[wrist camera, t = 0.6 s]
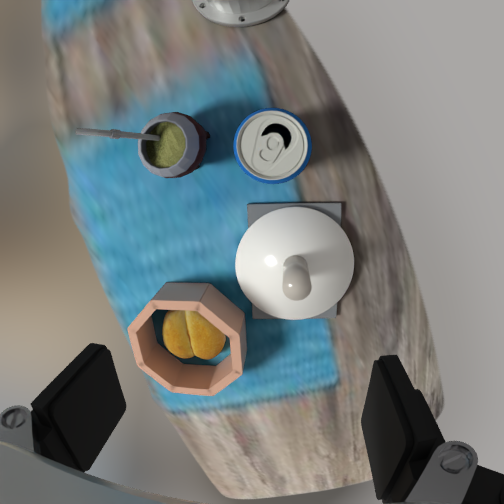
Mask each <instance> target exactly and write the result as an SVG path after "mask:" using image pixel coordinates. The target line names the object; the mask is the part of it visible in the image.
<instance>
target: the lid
mask: <svg viewBox="0 0 504 504" xmlns="http://www.w3.org/2000/svg"><path fill="white" fill-rule="evenodd" d="M235 268H236V275H237V279H238V282H239V284H240V287H241V289H242V291H243V292H244V294H245V295H246V297H247V298H248V299H249V300H250V301H251V302H252V303H253V304H254V305H255V306H256V307H257V308H259V309H260V310H262V311H263V312H265V313H267V314H269V315H272V316H274V317H278V318H282V319H290V320H298V319H306V318H310V317H314V316H317V315H319V314H321V313H323V312H325V311H327V310H328V309H330V308H331V307H332V306H334V305H335V304H336V303H337V302H338V301H339V300H340V299H341V298H342V296H343V295H344V294H345V292H346V290H347V289H348V287H349V284H350V282H351V279H352V276H353V271H354V255H353V250H352V246H351V243H350V241H349V239H348V237H347V235H346V234H345V232H344V231H343V229H342V228H341V227H340V226H339V225H338V223H336V222H335V221H334V220H333V219H332V218H330V217H329V216H327V215H326V214H324V213H322V212H320V211H318V210H315V209H312V208H307V207H300V206H291V207H283V208H279V209H276V210H273V211H271V212H269V213H267V214H265V215H263V216H262V217H260V218H259V219H257V220H256V221H255V222H254V223H253V224H252V225H251V226H250V227H249V228H248V230H247V231H246V232H245V234H244V236H243V237H242V239H241V242H240V244H239V246H238V250H237V254H236V264H235Z"/></svg>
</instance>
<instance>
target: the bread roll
mask: <svg viewBox="0 0 504 504" xmlns="http://www.w3.org/2000/svg"><path fill="white" fill-rule="evenodd" d="M162 335H163V341H164V345H165V346H166V347H167V349H168V350H169V351H170V352H171V353H172V354H174V355H176V356H178V357H180V358H184V359H186V358H191V357H194V356H195V355H196V356H197V357H199V358H201V359H212V358H214V357H215V356H217V355H218V354H219V353H220V352H221V351H222V349H223V346H224V344H225V341H226V335H225V334H224V333H223V332H222V331H220V330H219V329H218V328H217V327H215V326H214V325H213V324H212V323H211V322H209V321H208V320H207V319H206V318H205V317H203V316H202V315H201V314H200V313H199V312H198V311H189V310H170V311H168V312H167V313H166V315H165V318H164V323H163V328H162Z"/></svg>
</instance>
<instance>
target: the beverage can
mask: <svg viewBox="0 0 504 504" xmlns="http://www.w3.org/2000/svg"><path fill="white" fill-rule="evenodd" d="M311 151H312V142H311V137H310V134H309V131H308V129H307V127H306V126H305V124H304V123H303V122H302V121H301V119H300V118H298V117H297V116H296V115H294V114H293V113H291V112H289V111H287V110H284V109H279V108H265V109H261V110H258V111H256V112H254V113H252V114H250V115H249V116H247V117H246V118H245V119H244V120H243V121H242V123H241V124H240V125H239V127H238V129H237V131H236V134H235V137H234V154H235V157H236V160H237V162H238V164H239V166H240V167H241V169H242V170H243V171H244V172H245V173H246V174H247V175H248V176H250V177H251V178H253V179H255V180H257V181H259V182H262V183H267V184H279V183H284V182H287V181H289V180H291V179H293V178H295V177H296V176H297V175H299V174H300V173H301V172H302V171H303V170H304V168H305V167H306V165H307V163H308V161H309V159H310V156H311Z"/></svg>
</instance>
